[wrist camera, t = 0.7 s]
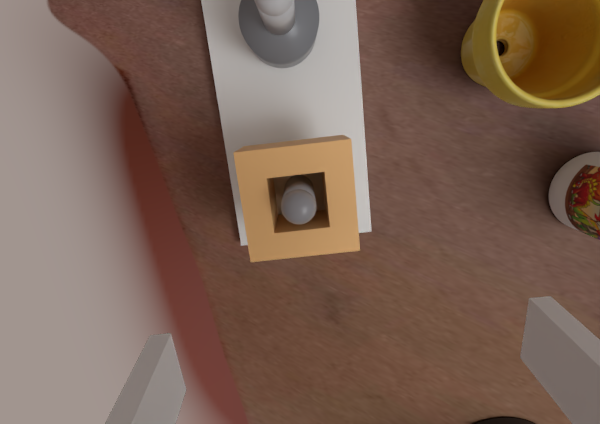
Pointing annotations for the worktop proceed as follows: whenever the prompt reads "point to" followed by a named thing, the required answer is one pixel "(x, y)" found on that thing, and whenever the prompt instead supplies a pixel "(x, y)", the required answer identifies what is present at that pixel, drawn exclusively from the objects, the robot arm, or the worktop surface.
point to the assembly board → (288, 89)
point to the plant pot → (536, 51)
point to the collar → (326, 223)
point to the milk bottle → (578, 194)
